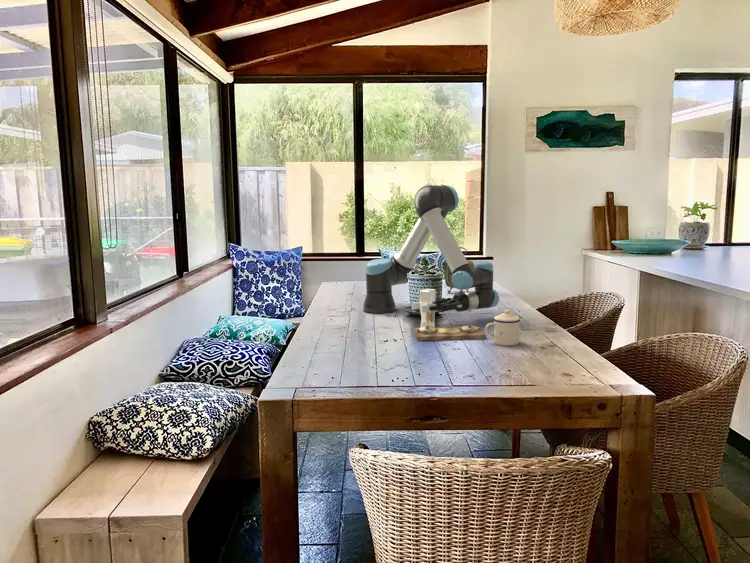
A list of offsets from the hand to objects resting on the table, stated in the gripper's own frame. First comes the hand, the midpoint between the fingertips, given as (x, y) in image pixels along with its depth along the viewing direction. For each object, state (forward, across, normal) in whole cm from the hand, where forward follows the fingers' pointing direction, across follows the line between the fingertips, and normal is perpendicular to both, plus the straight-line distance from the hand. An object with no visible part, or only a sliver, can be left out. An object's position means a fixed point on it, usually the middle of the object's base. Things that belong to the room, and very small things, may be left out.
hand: (417, 307), depth 220 cm
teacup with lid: (-15, -34, -9) cm, 38 cm away
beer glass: (-5, 0, -9) cm, 10 cm away
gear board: (-5, -15, -8) cm, 18 cm away
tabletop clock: (-62, +58, -9) cm, 85 cm away
